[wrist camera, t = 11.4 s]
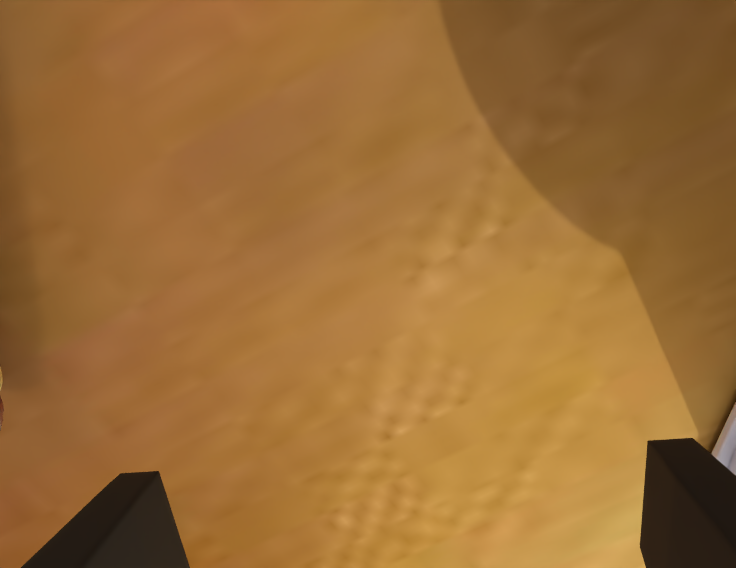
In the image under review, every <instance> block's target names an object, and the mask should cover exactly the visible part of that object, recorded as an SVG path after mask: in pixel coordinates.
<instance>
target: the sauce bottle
mask: <svg viewBox="0 0 736 568" xmlns="http://www.w3.org/2000/svg"><path fill="white" fill-rule="evenodd" d="M2 382H3V379H2V371H1V366H0V390H1V386H2ZM3 412H4V407H3V403H2V400H1V397H0V431H1V426H2V421H3Z"/></svg>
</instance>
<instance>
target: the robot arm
mask: <svg viewBox="0 0 736 568" xmlns="http://www.w3.org/2000/svg"><path fill="white" fill-rule="evenodd" d="M640 549H641V552H642V555H643V559H644V562H645V566H646V568H736V402H735V404H734V406H733V408H732V411H731V413H730V415H729V417H728V419H727V421H726V423H725V426H724V428H723V430H722V432H721V434H720V436H719V438H718V440H717V443H716V445H715V447H714V449H713V451H712V453H711V454H710V453H709V452H708V451H707V450H706V449H705V448H703V447H702V446H701V445H700V444H699V443H698V442H696V441H695V440H694V439H693V438H685V439H669V440H653V441H648V444H647V458H646V471H645V485H644V498H643V512H642V525H641V539H640ZM21 568H190V567H189V564H188V560H187V557H186V554H185V551H184V548H183V545H182V542H181V539H180V536H179V532H178V529H177V526H176V523H175V520H174V517H173V514H172V511H171V508H170V504H169V501H168V498H167V495H166V492H165V489H164V486H163V483H162V480H161V477H160V473H159V471H153V472H137V473H121V474H119V475H118V476H117V477H116V478H115V479H114V480H113V481H112V482H110V483H109V484H108V485H107V486H106V487H105V488H104V489H103V490H102V491H101V492H100V493H99V494H97V495H96V496H95V497H94V498H93V499H92V500H91V501H90V502H89V503H88V504H87V505H86V506H85V507H84V508H83V509H82V510H81V511H80V512H79V513H78V514H77V515H76V516H75V517H73V518H72V519H71V520H70V521H69V522H68V523H67V524H66V525H65V526H64V527H63V528H62V529H61V530H60V531H59V532H58V533H57V534H56V535H55V536H54V537H53V538H52V539H51V540H50V541H49V542H47V543H46V544H45V545H44V546H43V547H42V548H41V549H40V550H39V551H38V552H37V553H36V554H35V555H34V556H33V557H32V558H31V559H29V560H28V561H27V562H26V563H25V564H24V565H23V566H22V567H21Z"/></svg>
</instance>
